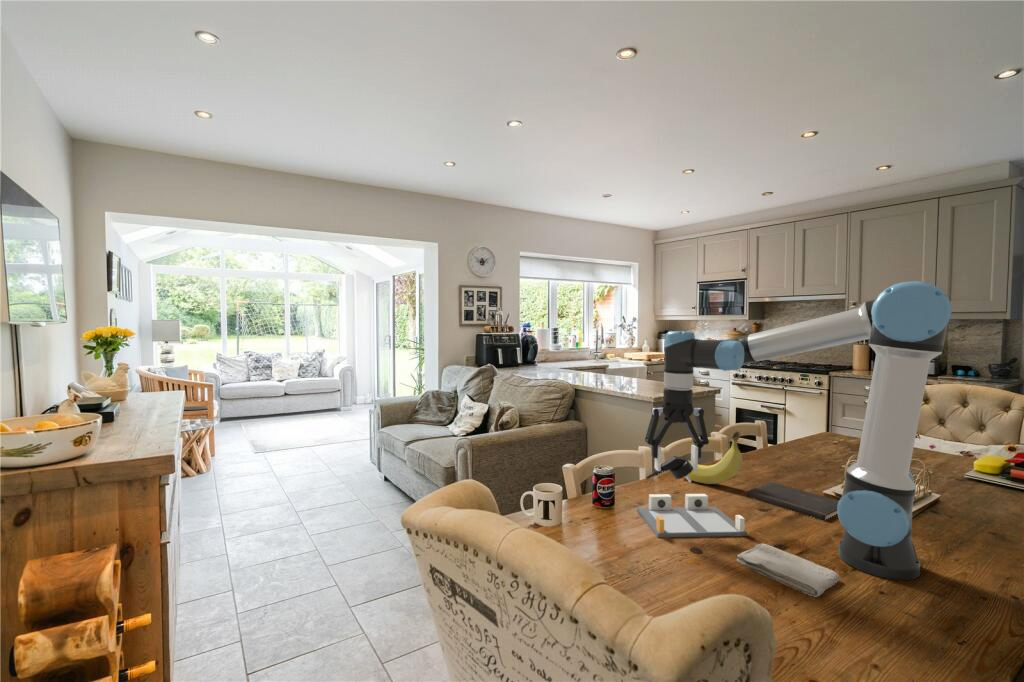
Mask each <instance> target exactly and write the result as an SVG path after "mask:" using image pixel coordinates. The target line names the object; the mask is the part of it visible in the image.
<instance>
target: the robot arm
mask: <svg viewBox="0 0 1024 682" xmlns="http://www.w3.org/2000/svg"><path fill="white" fill-rule="evenodd" d="M952 306H953V305H952V303H951V300H950V298H949V297H948V295H947V294H946V293H945V292H944V290H943V289H941V288H939V287H938V286H936V285H934V284H933V283H929V282H927V281H917V280H914V281H902V282H899V283H895V284H893V285H891V286H889V287H888V288H885V289H884V290H883V291H881V292H880V293H879V295H878V296H877V297H876V298H875V299H872V300H869V301H868V300H867V301H865V302H863V303H862V304H861V305H860V307H858V308H853V309H849V310H845V311H841V312H837V313H833V314H828V315H825V316H821V317H817V318H812V319H808V320H804V321H801V322H795V323H791V324H787V325H784V326H780V327H775V328H772V329H771V328H770V329H767V330H764V331H758V332H755V333H751V334H747V335H742V336H737V337H734V338H729V339H699V338H696V336H695V333H694V331H684V330H683V331H676V330H675V331H674V330H673V331H672V330H670V331H668V332H667V333H665V338H664V347H663V350H664V360H663V361H664V365H663V366H664V369H663V370H664V371H663V386H664V387H665V388H663V394H662V395H663V396H662V403H663V404H662V406H661V407H654V406H653V407H651V409H650V410H651V411H650V412H651V417H650V419H649V424H648V427H647V430H646V431H647V432H646V435H645V438H644V442H645V443H646V444H648V445H651V453H650V454H651V457H652V458H653V459H654V470H657V471H661V464H662V463H661V462H662V446H660V444H661V442H662V440H663V439H664V436H665V435H666V433H667V431H668V429H669V428H670V426H671V425H672V424H673V423H674V424H677V423H681V424H684V426H685V427H686V431H687V432H688V434H689V435H690V438H691V441H692V442H693V444H691V446H690V461H691V465H692V467H693V470H694V471H698V464H699V463H698V462H699V459H701V458H702V448H704V446H705V445H709V443H710V441H709V437H708V433H707V429H706V424H705V419H704V415H705V410H704V409H703V408H701V407H693V400H694V399H693V396H694V395H693V394H694V391H693V389H692V388H693V387H694V369H695V368H696V369H697V368H698V369H699V368H700V369H708V370H709V369H711V370H721V371H726V372H727V371H738V370H740V369H741V368H742V367H743V365H747V364H751V363H752V364H753V363H756V362H760V361H761V362H762V361H766V360H767V361H768V360H770V359H772V360H773V359H777V358H781V357H785V356H791V355H797V354H802V353H805V352H810V351H816V350H820V349H826V348H830V347H831V348H832V347H836V346H841V345H847V344H850V343H856V342H861V341H865V340H869V342H868V346H869V347H870V348H871V349H872V351H874V353H875V359H874V363H873V364H874V365H873V371H872V377H871V382H870V387H869V393H868V399H867V404H866V409H865V416H864V421H863V427H862V431H861V432H862V433H861V438H860V441H859V442H860V444H859V449H858V454H857V459H856V462H853V463H852V464H851V465H850V466H848V467H847V469H846V471H845V472H846V473H845V477H844V484H843V488H842V493H841V497H840V498H839V500H838V501H839V502H838V505H837V513H838V514H837V517H838V521H839V522H840V524H841V526H842V528H843V529H844V530H845V531H844V534H843V536H842V539H841V540H840V541H839V543H838V557H839V558H840V559H841V560H842V561H843V562H845V563H846V564H847V565H849V566H851V567H853V568H855V569H857V570H858V571H861V572H864V573H867V574H869V575H872V576H873V575H874V576H876V577H881V578H885V579H888V580H889V579H891V580H897V581H898V580H899V581H910V580H915V579H918V577H920V575H921V564H920V563H921V562H920V560H919V558H918V556H917V555H918V553H917V552H916V548H915V545H914V542H913V539H912V527H913V526H912V524H913V506H914V505H913V504H914V500H915V494H916V489H917V485H916V483H915V482H914V476H913V474H912V472H910V468H911V464H912V458H913V453H914V448H915V447H914V446H915V441H916V436H917V431H918V427H919V419H920V416H921V411H922V404H923V399H924V394H925V390H926V384H927V378H928V375H929V368H930V362H931V361H932V360H933V359H935V358H936V357H938V356H940V355H942V354H943V352H944V345H945V340H946V335H947V331H948V326H949V325H948V324H949V322H950V320H951V317H952V312H953V308H952ZM662 413H663V415H664V417H663V418H662V422H661V424H660V426H659V427H658V428H657V426H658V423H659V419H660V416H662V415H661V414H662ZM692 414H693V415H694V416H695V417H694V418H695V422H696V427H697V431H698V433H697V431H696V429H695V427H694V425H693V422H692V420H691V418H690V417H691V416H692Z"/></svg>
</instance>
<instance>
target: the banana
mask: <svg viewBox="0 0 1024 682" xmlns="http://www.w3.org/2000/svg"><path fill="white" fill-rule="evenodd" d="M740 436H741V431H737V430H736V431H734V432H733V434H731V436H730V437H731V439H732V443H731V445H730V446H731V447H730V448H729V449H728V450H727V452H726V453H725V454H724V456H723V457H722V458H721V460H719V461H717V462H716V463H715V464H712V465H705V464H704V465H703V464H702V465H701V464H699V463H698V471H694V470H692V471H691V473H689V474H688V477H689V478H690V479H691V482H692V481H693V482H696V483H700V484H704V485H717V484H720V483H724V482H726V481H727V480H730V479H731V478H733V477H735V476H736V475H737V473H739V471H740V470H741V468H742V466H743V462H744V461H743V455H742V452H741V450H740V449H739V446H738V440H739V439H740ZM687 460H688V461H689V462H690V464H691V460H689V459H687Z"/></svg>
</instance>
